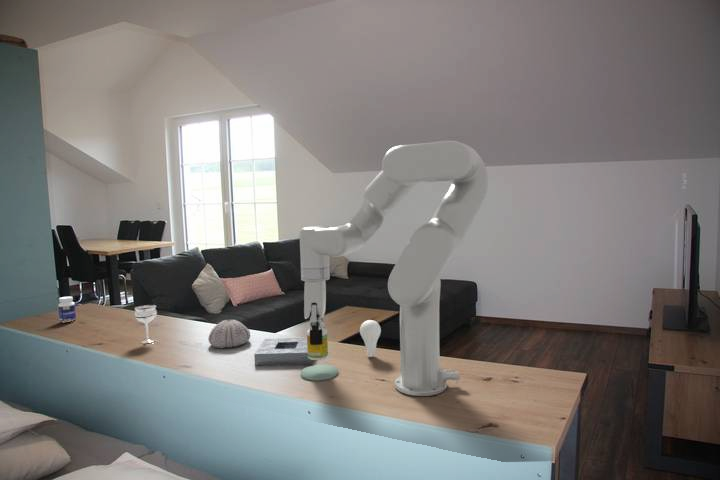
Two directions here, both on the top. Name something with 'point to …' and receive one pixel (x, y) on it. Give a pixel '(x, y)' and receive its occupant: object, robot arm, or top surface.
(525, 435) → the top surface
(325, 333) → the supplement bottle
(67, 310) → the pill bottle
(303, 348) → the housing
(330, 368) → the pad
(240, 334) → the sea urchin shell
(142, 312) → the wineglass
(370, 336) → the lightbulb
